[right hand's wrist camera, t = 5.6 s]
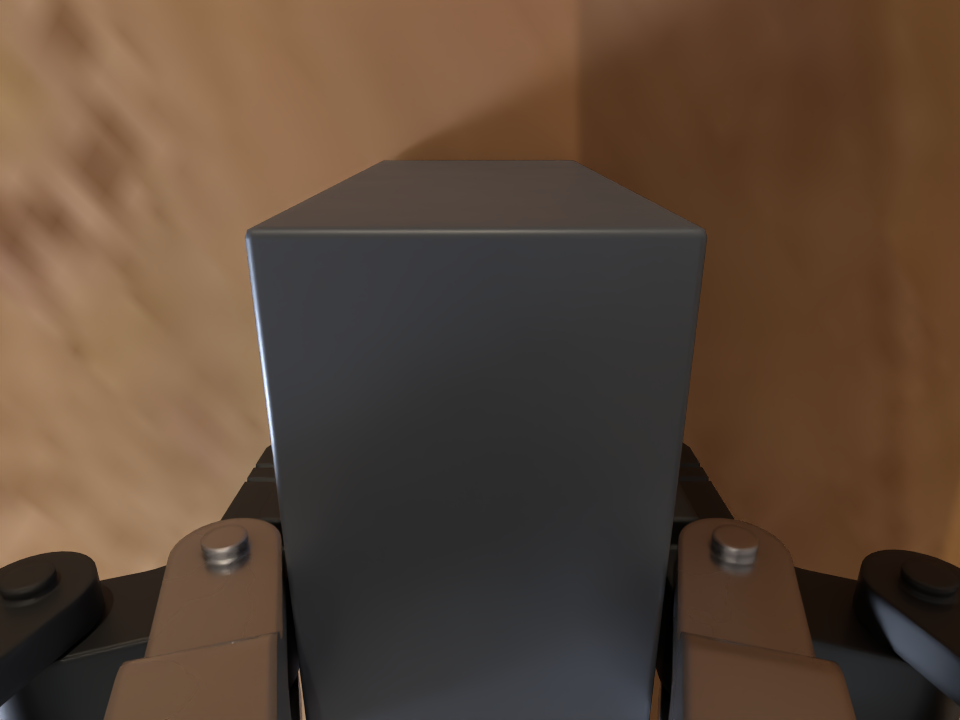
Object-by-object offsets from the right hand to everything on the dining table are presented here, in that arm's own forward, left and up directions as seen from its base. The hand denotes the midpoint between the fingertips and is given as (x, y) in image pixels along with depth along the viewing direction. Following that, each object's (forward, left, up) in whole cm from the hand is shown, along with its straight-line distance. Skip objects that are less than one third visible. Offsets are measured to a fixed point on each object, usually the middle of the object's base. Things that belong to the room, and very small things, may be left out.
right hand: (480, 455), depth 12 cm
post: (+29, -21, -4) cm, 36 cm away
